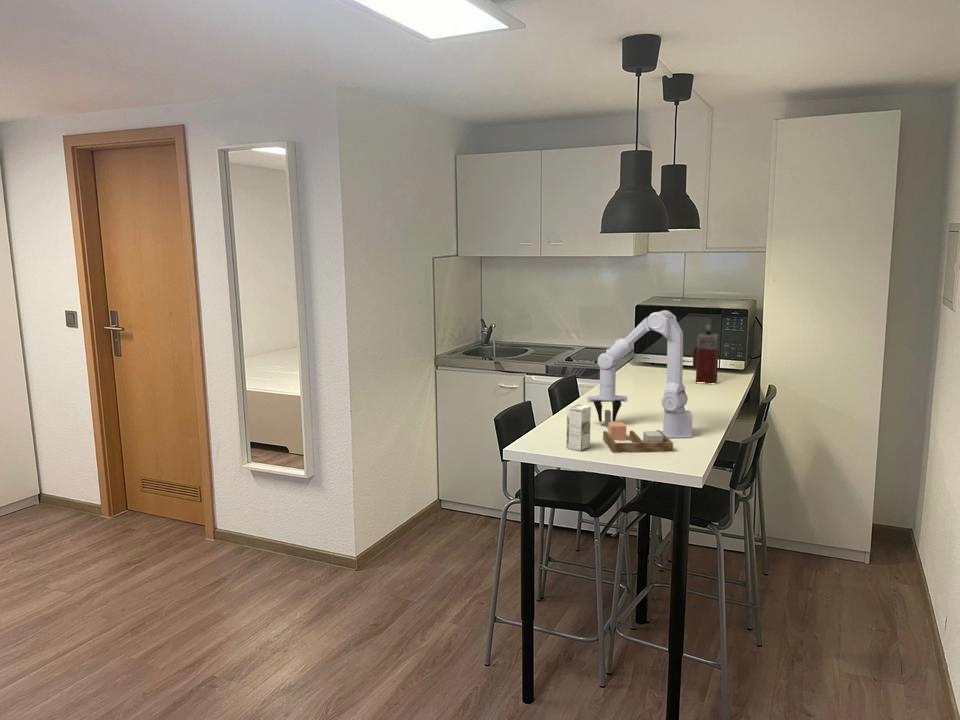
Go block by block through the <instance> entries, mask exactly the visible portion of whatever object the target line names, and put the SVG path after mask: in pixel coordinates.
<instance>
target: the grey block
mask: <svg viewBox="0 0 960 720" xmlns="http://www.w3.org/2000/svg"><path fill="white" fill-rule="evenodd" d="M642 433H643V434H642V435H643V436H642V438H643V439H642V441H643V442H663V435H662V434H661V433H660V432H659V431H656V430H649V431H648V430H644V431H643V432H642Z"/></svg>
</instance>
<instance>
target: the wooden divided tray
mask: <svg viewBox="0 0 960 720" xmlns="http://www.w3.org/2000/svg"><path fill="white" fill-rule="evenodd" d="M655 431H659V432H660V433H661V434H662V435H663V442H643V439H641V438H640V436H639V435H638V434H637V433H636V432H635V431H634V430H629V441H630V442H616V441H614V440H613V439H612V437H611V436H610V435H609V434H608V430H607V431H606V430H604V431H602V440H603V442H604V441H605V442H604V443H605V444H606V446H607V445H608V446H607V448H608V449H609V450H610V449H611V450H610V451H611V453H612V452H628V453H660V452H659V451H673V449H674V448H673V447H674V442H673V441H672V440H670V438H667V437H666V436H665V435H664V434H663V433H662V432H661V431H662V430H660V429H657V430H655ZM631 441H632V442H631Z"/></svg>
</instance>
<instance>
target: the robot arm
mask: <svg viewBox="0 0 960 720" xmlns="http://www.w3.org/2000/svg"><path fill="white" fill-rule="evenodd" d="M649 331H654V332H657V333H659V334H661V335H662V336H663V337H664V338H666V340H667V342H666V343H667V345H666V348H667V349H666V351H667V352H666V357H667V358H666V385H665V388H664V393H663V394H664V395H663V397H662V398H661V406H662V409H663V423H662V424H663V427H662V428H663V430H660V431H661V432H662V433H663V434H664V435H665V436H666V437H667V438H668V439H670V438H671V439H677V438H679V439H685V438H693V415H692V412H691V410H686V408H685V406H686V405H687V403H688V400H689V399H688V395H687V393H686V386H685V385H684V383H683V371H684V370H683V369H684V368H683V367H684V366H683V364H684V363H683V362H684V361H683V358H684V354H683V353H684V333H683V330H682V329H681V327H680V324H679V323H678V321H677V316H676V315H674V314H673V313H672V312H671V311H669V310H666V309H665V310H661V311H655V312H652V313H650V314H649V316H647V317H645V318H644V319H643V320H642V321H641V322H640V323H639V324H637V326H636V327H635V328H634V329H633V330H632V331H630V333H629V334H628V335H627V336H625V338H621V337H620V338H617V339H615V340H614V344H613V345H612V346H611V347H609V348H607V349H606V350H605V351H606V352H603V353H601V354H600V355H599V356H598V357H597V365H598V367H599V395H590V396H586V397H587V401H586V402H587V403H592V404H593V405H594V407H595V410H596V412H597V416H598V421H599V422H600V423H601V422H603V416H602V411H603V404H602V403H612V412H611V420H612V422H616V419H617V415H618V413H619V410H620V409H621V407H622V402H624V403H628V395H616V381H617V380H616V376H617V375H616V374H617V373H616V370H617V366H618V364H619V362H620V361H621V360H622V359H623V358H624V357H625V356H626V355H627V354H629V353H630V352H631V351H632V348H633V347H632V345H633V344H634V343H635V342H636V341H638V340H639V339H641V338H642V336H644V335H645V334H646V333H647V332H649Z"/></svg>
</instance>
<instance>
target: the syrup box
mask: <svg viewBox="0 0 960 720" xmlns="http://www.w3.org/2000/svg"><path fill="white" fill-rule="evenodd" d="M591 410H592V407H591V405H587V404H584V403H575V404H572V405H569V406H567V410H566V411H567V412H566V415H567V416H566V418H567V419H566V449H567V448H569V449H568V450H572V449H573V450H572V451H577V452H582V451H584V450H587V449H589V448H590V447H591V442H590V441H591V416H592V415H591V414H592V413H591V412H592V411H591Z"/></svg>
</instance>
